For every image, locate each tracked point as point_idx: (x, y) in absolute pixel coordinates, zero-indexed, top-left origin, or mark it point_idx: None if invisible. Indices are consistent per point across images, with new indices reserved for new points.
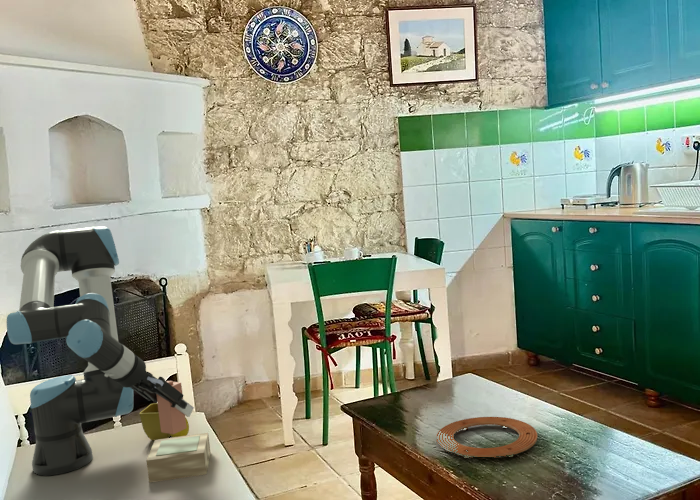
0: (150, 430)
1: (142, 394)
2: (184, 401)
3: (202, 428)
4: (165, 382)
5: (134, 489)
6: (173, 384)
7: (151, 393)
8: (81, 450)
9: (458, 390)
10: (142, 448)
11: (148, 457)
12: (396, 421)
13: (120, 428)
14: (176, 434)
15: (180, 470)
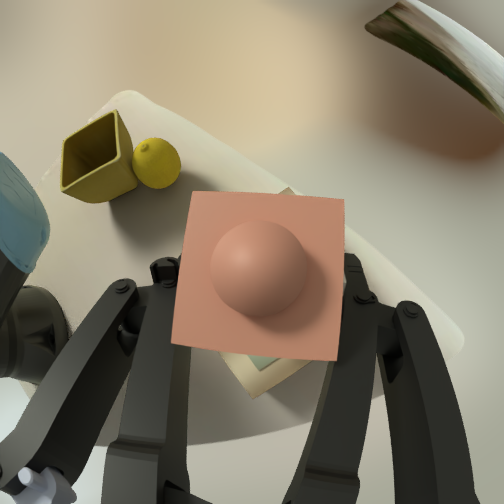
0: (100, 197)
1: (122, 384)
2: (362, 271)
3: (177, 122)
4: (468, 495)
5: (249, 416)
6: (315, 259)
7: (184, 383)
8: (44, 332)
9: (434, 18)
10: (112, 237)
11: (242, 381)
12: (459, 73)
13: (40, 184)
14: (165, 185)
15: None
